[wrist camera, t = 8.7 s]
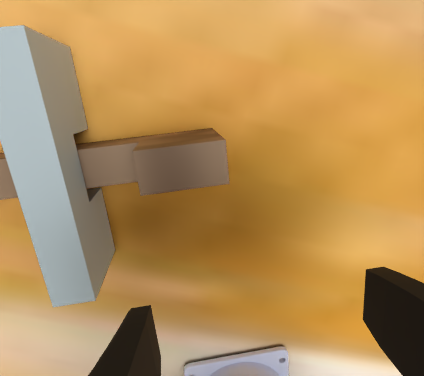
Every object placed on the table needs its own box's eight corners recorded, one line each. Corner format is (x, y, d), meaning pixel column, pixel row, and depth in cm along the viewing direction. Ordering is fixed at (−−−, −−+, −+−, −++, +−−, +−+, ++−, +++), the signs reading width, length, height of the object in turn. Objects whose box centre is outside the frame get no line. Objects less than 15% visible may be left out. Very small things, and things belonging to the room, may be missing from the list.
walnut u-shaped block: (211, 128, 18) (225, 139, 13) (215, 161, 18) (229, 183, 14) (-76, 162, 16) (-179, 189, 12) (-63, 196, 17) (-155, 235, 12)
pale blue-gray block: (115, 250, 19) (95, 300, 14) (83, 254, 19) (52, 307, 14) (69, 47, 16) (23, 25, 11) (29, 50, 15) (-35, 30, 11)
